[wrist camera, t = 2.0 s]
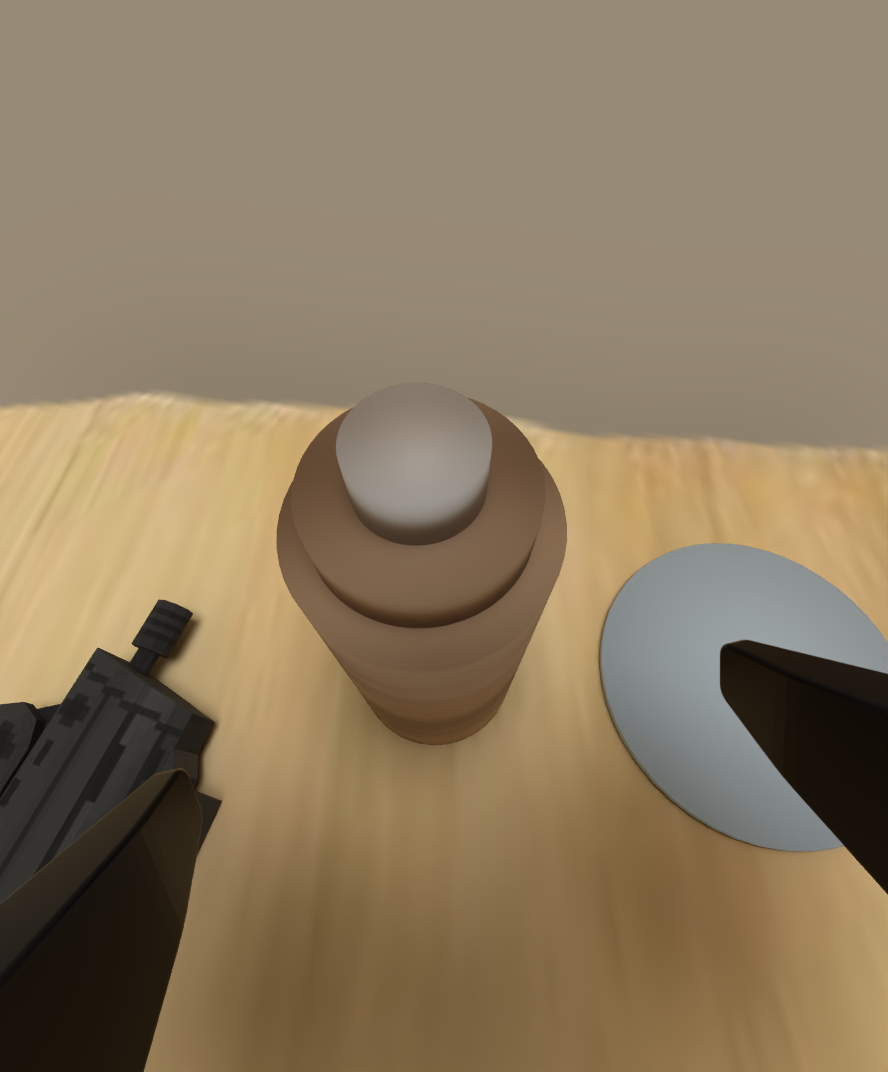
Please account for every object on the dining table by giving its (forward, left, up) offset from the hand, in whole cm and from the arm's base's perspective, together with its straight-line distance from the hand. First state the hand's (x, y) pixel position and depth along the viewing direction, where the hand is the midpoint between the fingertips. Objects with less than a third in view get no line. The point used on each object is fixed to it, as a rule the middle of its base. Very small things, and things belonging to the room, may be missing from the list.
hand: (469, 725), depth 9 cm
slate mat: (+9, -7, -11) cm, 16 cm away
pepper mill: (+3, +3, -11) cm, 11 cm away
